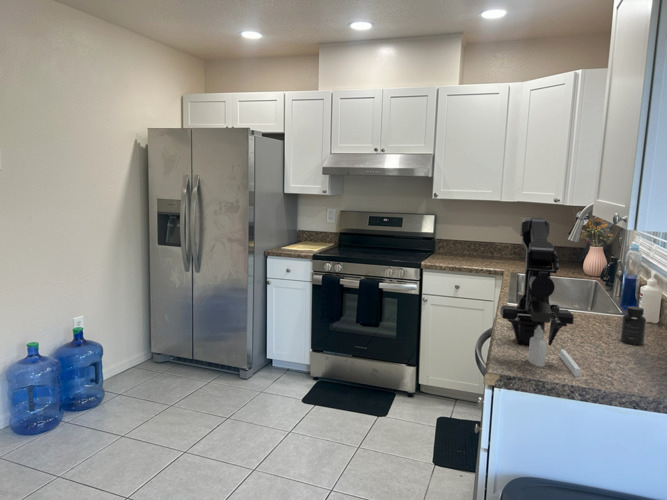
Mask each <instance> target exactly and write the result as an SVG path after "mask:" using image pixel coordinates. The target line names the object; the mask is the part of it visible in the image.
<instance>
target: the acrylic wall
mask: <svg viewBox="0 0 667 500" xmlns="http://www.w3.org/2000/svg"><path fill="white" fill-rule="evenodd" d="M559 358H560V359H561V361H562V362H563V363H564V365H565V366H566V368H567V369H568V370H569V371H570V373H571V374H572V375H573V377H576V378H580V374H581V368H580V367H579V365H577V363H576V362H575V361H574V359H573V358H572V356H570V355H569V354H568V352H567V350H566V349H562V348H561V349H560V351H559Z"/></svg>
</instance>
